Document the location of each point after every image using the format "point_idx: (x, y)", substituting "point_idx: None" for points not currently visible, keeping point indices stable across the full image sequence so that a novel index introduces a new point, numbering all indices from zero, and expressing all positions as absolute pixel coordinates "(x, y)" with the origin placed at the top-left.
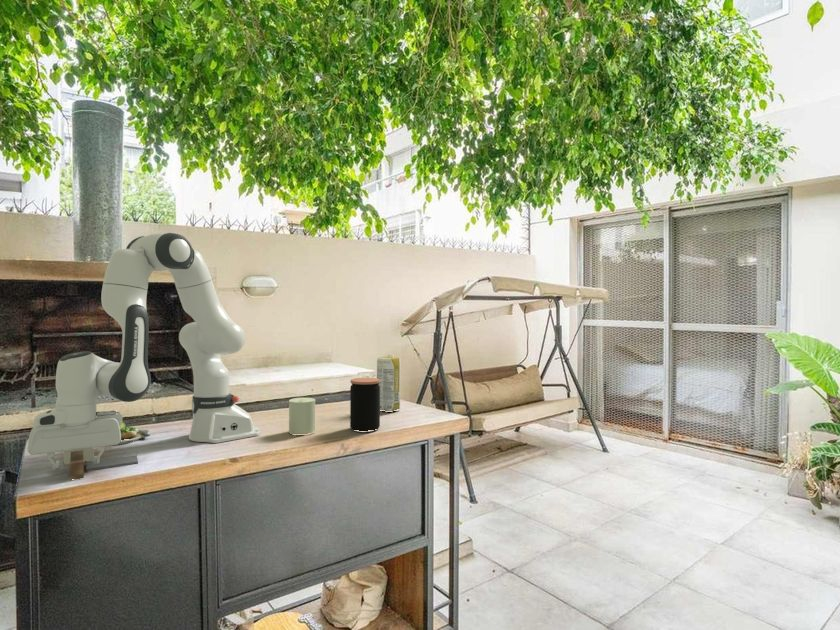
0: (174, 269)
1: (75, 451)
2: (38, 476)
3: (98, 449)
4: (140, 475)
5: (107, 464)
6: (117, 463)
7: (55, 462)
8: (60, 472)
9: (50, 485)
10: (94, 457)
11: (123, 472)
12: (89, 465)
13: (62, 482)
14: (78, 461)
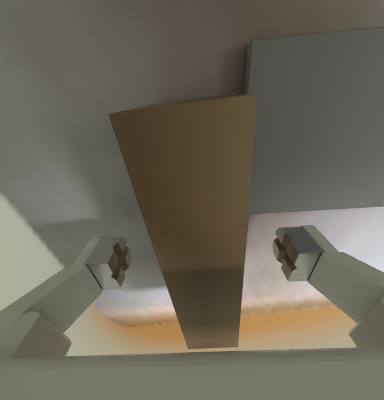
0: None
1: (164, 120)
2: (50, 200)
3: (358, 344)
4: None
5: (336, 191)
6: (381, 195)
7: (101, 286)
8: (126, 181)
9: (145, 291)
10: (297, 277)
11: None
12: (255, 167)
13: None
14: (218, 341)
